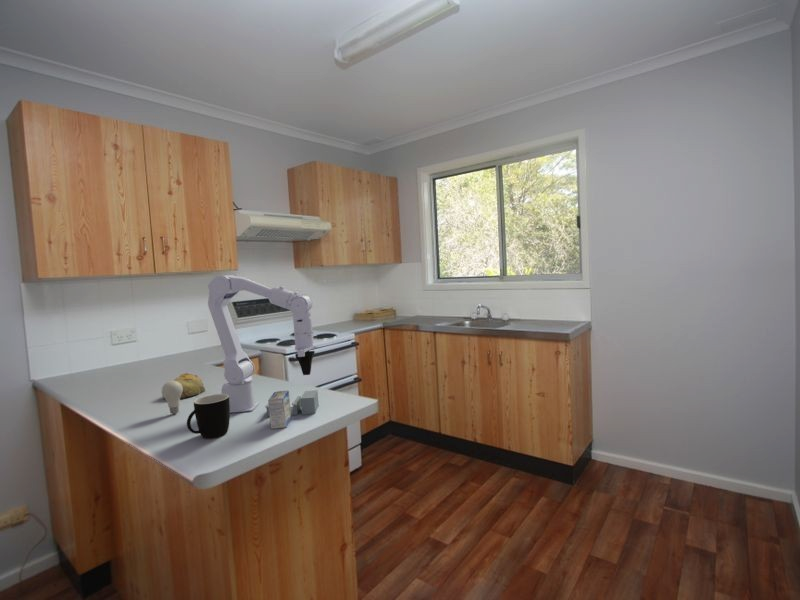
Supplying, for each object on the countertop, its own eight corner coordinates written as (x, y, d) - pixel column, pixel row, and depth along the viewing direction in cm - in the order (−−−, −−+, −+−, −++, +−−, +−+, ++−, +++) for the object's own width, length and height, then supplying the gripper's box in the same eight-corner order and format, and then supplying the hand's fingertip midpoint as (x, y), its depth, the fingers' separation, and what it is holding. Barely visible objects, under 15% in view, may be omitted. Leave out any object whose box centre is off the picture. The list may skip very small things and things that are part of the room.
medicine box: (286, 428, 119) (284, 397, 118) (270, 429, 119) (267, 399, 118) (291, 418, 127) (289, 389, 126) (276, 419, 126) (273, 391, 126)
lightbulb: (189, 411, 140) (186, 378, 139) (174, 417, 134) (170, 383, 133) (175, 410, 142) (171, 378, 141) (159, 416, 136) (156, 383, 135)
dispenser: (266, 418, 128) (264, 402, 128) (273, 408, 137) (271, 393, 136) (314, 414, 129) (313, 398, 129) (318, 405, 138) (317, 390, 137)
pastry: (206, 388, 169) (204, 368, 169) (203, 396, 158) (201, 375, 157) (166, 394, 165) (164, 373, 164) (161, 402, 153) (158, 381, 152)
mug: (218, 426, 124) (215, 392, 123) (239, 430, 119) (235, 395, 118) (179, 442, 113) (175, 405, 113) (200, 447, 109) (196, 409, 108)
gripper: (312, 335, 129) (316, 379, 130) (318, 328, 143) (322, 368, 144) (289, 337, 128) (292, 381, 129) (297, 330, 143) (301, 369, 144)
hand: (306, 374), depth 137 cm, fingers closed
